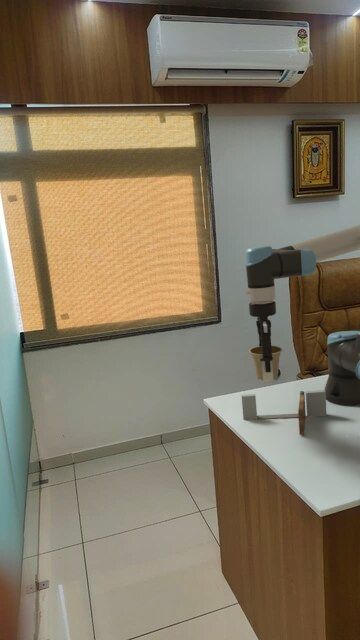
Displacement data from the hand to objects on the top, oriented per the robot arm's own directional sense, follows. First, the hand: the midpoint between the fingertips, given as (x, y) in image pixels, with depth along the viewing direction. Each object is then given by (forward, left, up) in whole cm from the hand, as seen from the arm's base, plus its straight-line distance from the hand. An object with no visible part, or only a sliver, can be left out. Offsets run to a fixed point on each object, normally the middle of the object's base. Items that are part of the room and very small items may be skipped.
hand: (267, 376), depth 123 cm
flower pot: (0, 0, -1) cm, 1 cm away
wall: (-5, -8, -17) cm, 19 cm away
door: (-10, -1, -17) cm, 20 cm away
